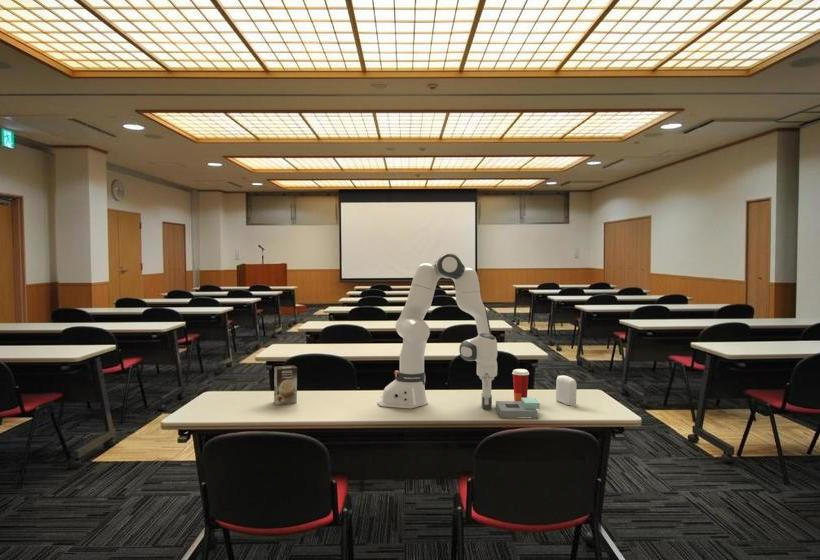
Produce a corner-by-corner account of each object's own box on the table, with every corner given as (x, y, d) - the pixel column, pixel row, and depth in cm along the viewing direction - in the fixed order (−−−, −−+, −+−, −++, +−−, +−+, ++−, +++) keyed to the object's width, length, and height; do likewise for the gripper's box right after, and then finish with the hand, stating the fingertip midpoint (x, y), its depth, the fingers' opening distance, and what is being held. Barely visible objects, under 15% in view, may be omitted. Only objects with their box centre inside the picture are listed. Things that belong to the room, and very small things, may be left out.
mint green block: (524, 408, 206) (524, 402, 206) (521, 403, 214) (521, 397, 214) (539, 409, 206) (539, 403, 206) (535, 403, 214) (535, 397, 214)
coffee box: (276, 405, 220) (276, 369, 219) (273, 401, 226) (273, 366, 225) (297, 402, 224) (297, 367, 223) (294, 399, 230) (294, 364, 229)
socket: (500, 417, 204) (500, 410, 204) (495, 407, 218) (495, 401, 218) (537, 418, 203) (537, 411, 203) (530, 408, 217) (530, 401, 217)
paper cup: (527, 398, 233) (528, 368, 232) (530, 403, 225) (530, 372, 225) (510, 398, 234) (511, 368, 233) (512, 402, 226) (512, 372, 226)
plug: (482, 408, 216) (482, 395, 216) (481, 406, 220) (481, 392, 220) (491, 409, 216) (491, 395, 216) (490, 406, 220) (490, 393, 220)
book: (577, 405, 222) (578, 378, 222) (570, 406, 220) (570, 379, 220) (561, 399, 231) (562, 373, 231) (554, 400, 230) (554, 374, 229)
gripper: (494, 376, 207) (494, 409, 207) (493, 366, 227) (493, 396, 227) (479, 376, 208) (478, 409, 208) (479, 366, 228) (479, 395, 228)
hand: (486, 402), depth 218 cm, fingers closed on plug, 4 cm apart
